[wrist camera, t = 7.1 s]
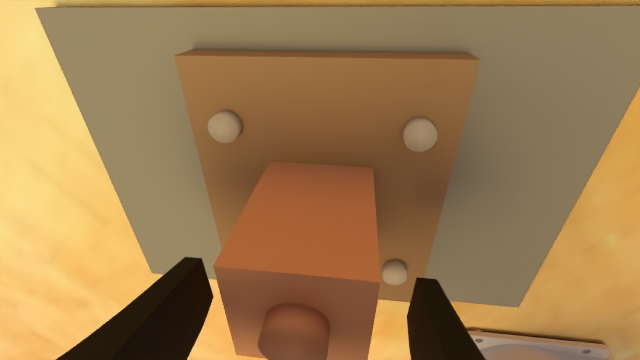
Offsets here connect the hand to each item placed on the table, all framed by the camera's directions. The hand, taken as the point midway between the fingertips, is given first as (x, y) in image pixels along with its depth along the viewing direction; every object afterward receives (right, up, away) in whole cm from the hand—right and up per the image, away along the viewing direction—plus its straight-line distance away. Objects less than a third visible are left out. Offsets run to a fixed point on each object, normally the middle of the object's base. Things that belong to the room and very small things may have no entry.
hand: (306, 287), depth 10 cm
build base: (+1, +4, +6) cm, 7 cm away
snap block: (+1, +2, +4) cm, 5 cm away
